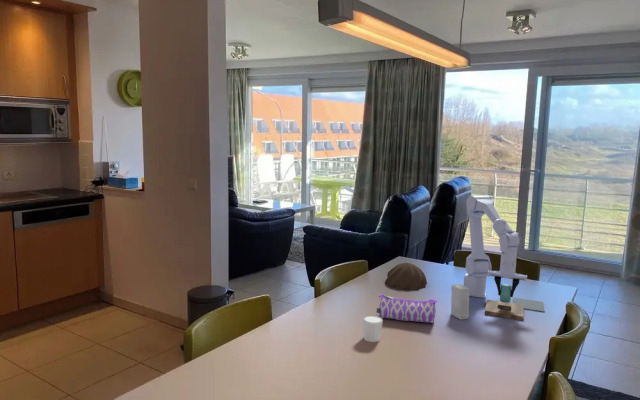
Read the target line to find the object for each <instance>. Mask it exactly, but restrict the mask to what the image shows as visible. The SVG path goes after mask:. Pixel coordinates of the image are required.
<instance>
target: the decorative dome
mask: <svg viewBox="0 0 640 400" xmlns="http://www.w3.org/2000/svg"><path fill="white" fill-rule="evenodd" d="M386 275H387V277H386V279H385V281H384V283H385V284H388V285H389V287H392V288H397V289H399V290H412V291H416V290H419V289H426V285H428V281H427V277H426V275H425V273H424V272H423V269H421V268H420V267H418V266H417V265H415V264H413V263H409V262H401V263H398V264H396V265H395V266H394V267H392V268H391V269H390V270H389V271H388V272H387V274H386Z"/></svg>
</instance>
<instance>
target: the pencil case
mask: <svg viewBox="0 0 640 400" xmlns="http://www.w3.org/2000/svg"><path fill="white" fill-rule="evenodd" d="M378 297H379V298H380V303H379V306H378V308H376V314H379V317H380V318H382V319H390V320H398V321H405V322H406V321H407V322H418V323H419V322H421V323H430V324H434V323H435V318H436V311H437V310H436V309H437V308H436V303H438V301H439V300H438V298H434V299H428V300H420V299H419V300H417V299H410V298H409V299H408V298H400V297H393V296H389V295H387V294H383V293H382V292H380V293H379V295H378Z"/></svg>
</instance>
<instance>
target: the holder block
mask: <svg viewBox="0 0 640 400" xmlns="http://www.w3.org/2000/svg"><path fill="white" fill-rule="evenodd" d="M484 315H487V316H494V317H500V318H506V319H512V320H518V321H524V309H523V305H521V304H515V303H513V302H509V303H504V302H501V301H500V300H494V299H487V300H486V304H485V308H484Z"/></svg>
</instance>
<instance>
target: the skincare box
mask: <svg viewBox="0 0 640 400" xmlns="http://www.w3.org/2000/svg"><path fill="white" fill-rule="evenodd" d="M469 291H470V289H469V288H467V287H465V286H464V284H460V283H458V284H452V285H451V296H450V297H451V298H450V299H451V300H450V315H452V316H454V317H455V318H456V319H459V320H460V321H461V320H468V319H469V317H470V316H469V314H470V311H469V310H470V296H469Z"/></svg>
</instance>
